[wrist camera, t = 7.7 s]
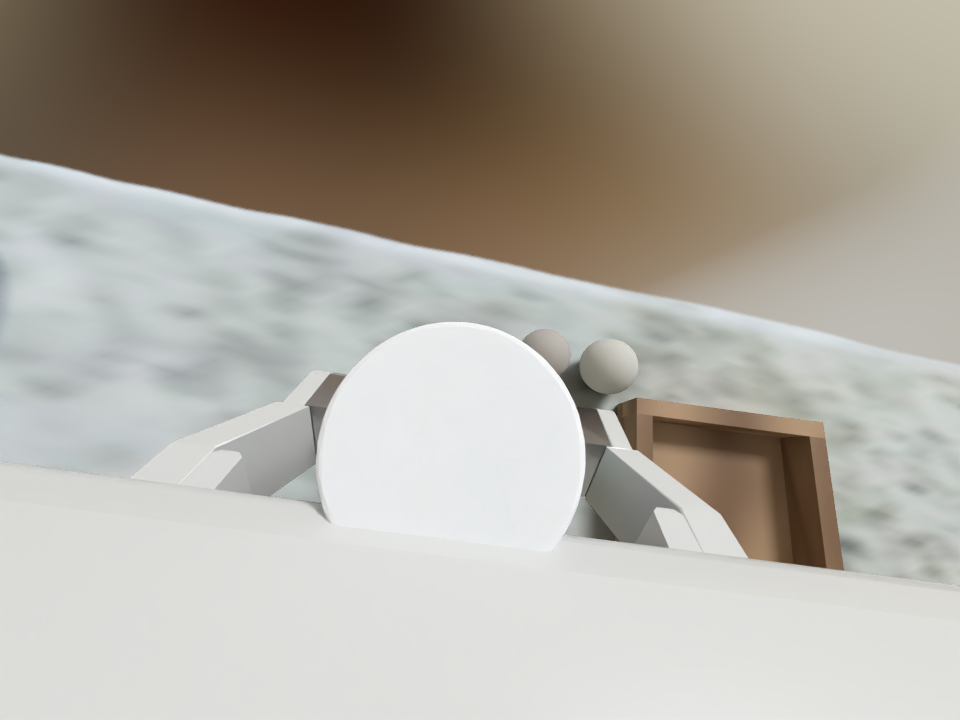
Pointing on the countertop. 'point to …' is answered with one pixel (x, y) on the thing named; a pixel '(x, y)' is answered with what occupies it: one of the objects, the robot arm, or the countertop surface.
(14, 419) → the countertop surface
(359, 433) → the supplement bottle
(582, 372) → the pebble
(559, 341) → the pebble
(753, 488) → the tray
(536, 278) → the countertop surface
